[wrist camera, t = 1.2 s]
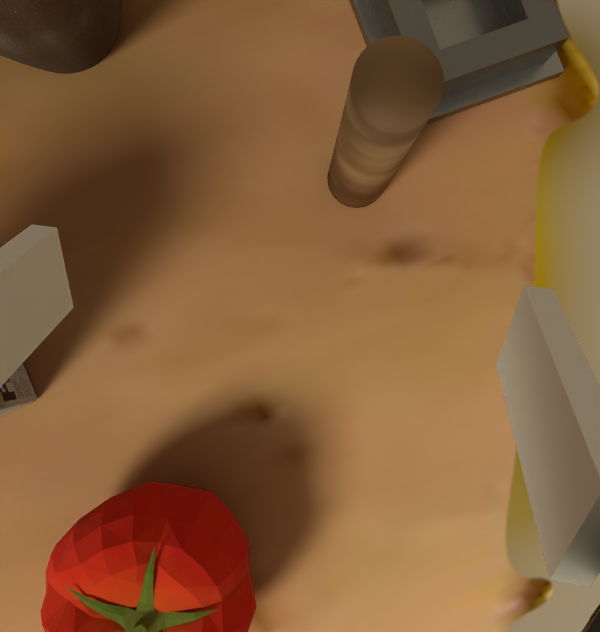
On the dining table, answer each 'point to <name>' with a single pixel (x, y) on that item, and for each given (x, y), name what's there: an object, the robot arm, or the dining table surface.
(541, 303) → the robot arm
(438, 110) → the grey square socket base
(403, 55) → the brown wooden cylinder
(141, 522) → the tomato
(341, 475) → the dining table surface
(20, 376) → the coffee box
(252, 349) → the dining table surface
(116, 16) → the plant pot
